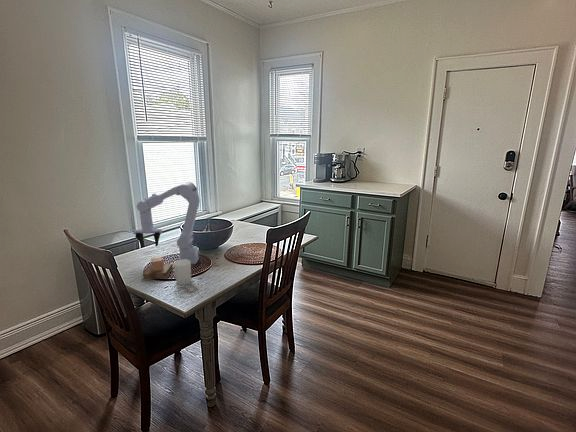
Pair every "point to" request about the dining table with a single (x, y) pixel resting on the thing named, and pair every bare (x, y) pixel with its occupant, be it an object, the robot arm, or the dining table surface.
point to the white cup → (182, 271)
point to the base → (158, 272)
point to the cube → (157, 264)
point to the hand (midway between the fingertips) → (149, 245)
